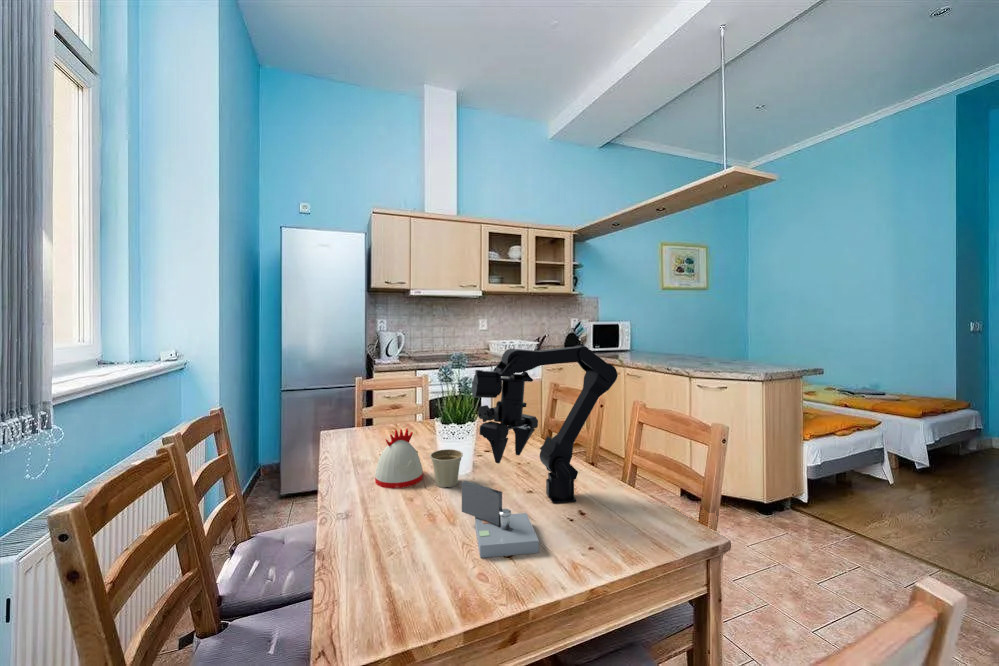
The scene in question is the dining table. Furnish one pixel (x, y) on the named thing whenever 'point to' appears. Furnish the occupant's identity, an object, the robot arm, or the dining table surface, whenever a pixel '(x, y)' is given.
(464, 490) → the gray pivoting panel
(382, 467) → the grey and red dome
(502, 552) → the gray square base
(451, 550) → the dining table surface
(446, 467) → the flower pot
